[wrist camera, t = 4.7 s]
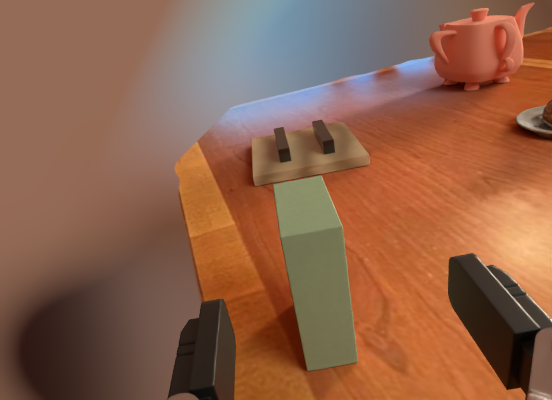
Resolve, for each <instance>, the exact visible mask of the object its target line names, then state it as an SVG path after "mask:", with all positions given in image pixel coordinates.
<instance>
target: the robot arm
mask: <svg viewBox="0 0 552 400" xmlns="http://www.w3.org/2000/svg"><path fill="white" fill-rule="evenodd" d="M448 295H449V299H450V302H451V305H452V307H453V309H454V311H455V312H456V314H457V315H458V317H459V318H460V320H461V321H462V323H463V324H464V326H465V327H466V329H467V330H468V332H469V333H470V335H471V336H472V338H473V339H474V341H475V342H476V344H477V345H478V347H479V348H480V350H481V351H482V353H483V354H484V356H485V357H486V359H487V360H488V362H489V363H490V365H491V366H492V368H493V369H494V371H495V372H496V374H497V375H498V377H499V378H500V380H501V381H502V383H503V384H504V386H505V387H506V389H507V390H509V389H515V388H520V387H521V389H522V390H523V391H524V393H525V394H526V398H525V400H552V319H551V318H550V317H549V316H548V315H547V314H546V313H545V312H544V311H543V310H542V309H541V308H540V307H539V306H538V304H537V303H536V302H535V301H534V300H533V299H532V298H531V297H530V296H529V295H527V294H526V292H525V291H524V290H523V289H522V288H521V287H520V286H518V283H517V282H516V281H515V280H514V279H513V278H512V277H511V276H510V275H509V274H508V273H506V272H505V271H503V270H501V269H499V268H497V267H496V266H494V265H490V266H485V265H484V264H483V263H482V261H481V260H480V259H479V258H478V257H477V256H476V255H475V254H473V253H471V254H466V255H460V256H455V257H451V258H450V259H449V276H448ZM235 354H236V343H235V335H234V330H233V327H232V324H231V321H230V317H229V314H228V311H227V308H226V304H225V302H224V300H223V299H217V300H212V301H206V302H202V304H201V309H200V315H199V318H196V319H191V320H189V321H188V322H187V324H186V325H185V327H184V328H183V330H182V332H181V335H180V340H179V347H178V350H177V358H176V360H175V365H174V370H173V375H172V380H171V385H170V390H169V395H168V398H167V400H234V382H235Z"/></svg>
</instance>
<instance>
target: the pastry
mask: <svg viewBox="0 0 552 400" xmlns="http://www.w3.org/2000/svg"><path fill="white" fill-rule="evenodd" d="M516 122H517V123H518V124H519V125H520V127H522V128H523V129H528V130H531V131H534V134H537V135H538V136H540V137H545V138H549V139H550V138H552V100H551V101H550V102H549V103H548V104H547V106H541V107H537V108H532V109H528V110H525V111H523V112H521V113H520V114H519V115H518V116H517V117H516Z"/></svg>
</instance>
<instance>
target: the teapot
mask: <svg viewBox="0 0 552 400" xmlns="http://www.w3.org/2000/svg"><path fill="white" fill-rule="evenodd" d="M534 4H535V3H530V4H527V5H524V6H522V7H521V8H520V9H519V10H518V12H517V14H516V15H515V17H513V16H503V15H501V16H500V15H497V16H486V15H487V13H488V10H489V9H488V8H482V9H476V10H472V11H471V12H470V14H471V17H472V18H468V19H464V20H459V21H455V22H451V23H446V24H441V25H439V27H440V31H438V32H435V33H433V34H432V35H431V36H430V39H429V41H430V46H431V48H432V50H433V52H434V53H435V54H436V55H435V69H436V71H437V73H438V74H439V76H440V77H442V78H444V79H446V81H445V82H444V83H443V84H444V85H453V84H457V83H458V82H466V83H465V87H464V90H477V89H479V82H483V81H488V80H493V81H494V82H495V83H505V82H509V81H510V80H509V79H508V78H507V76H508V75H511V74H514V73H515V72H516V71H517V70H518V68H519V67H520V65H521V64H522V61H523V44H522V37H523V32H524V22H525V17H526V15H527V12H528V11H529V9H530V8H531V7H532V6H533V5H534Z"/></svg>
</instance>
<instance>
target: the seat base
mask: <svg viewBox="0 0 552 400" xmlns="http://www.w3.org/2000/svg"><path fill="white" fill-rule="evenodd" d="M312 124H313V128H308V129H303V130H298V131H293V132H287V133H285V131H284V127H281V128H276V129H274V133H275V135H272V136H266V137H261V138H256V139H252V168H253V180H254V185H255V186H260V185H265V184H270V183H276V182H281V181H286V180H292V179H297V178H302V177H308V176H313V175H318V174H324V173H329V172H334V171H340V170H345V169H350V168H356V167H361V166H366V165H370V157H369V154H368V153H367V151H366V150H365V149H364V147H363V146H362V145H361V144H360V142H359V141H358V140H357V138H356V137H355V136H354V135H353V133H352V132H351V131H350V129H349V128H348V127H347V126H346V124H345V123H344V122H340V123H335V124H329V125H325V124H324V123H323V121H322V120H318V121H313V122H312Z"/></svg>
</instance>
